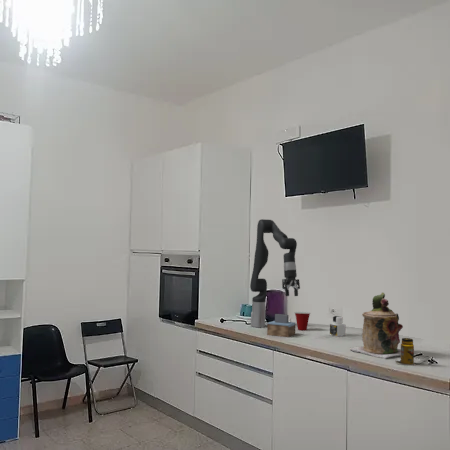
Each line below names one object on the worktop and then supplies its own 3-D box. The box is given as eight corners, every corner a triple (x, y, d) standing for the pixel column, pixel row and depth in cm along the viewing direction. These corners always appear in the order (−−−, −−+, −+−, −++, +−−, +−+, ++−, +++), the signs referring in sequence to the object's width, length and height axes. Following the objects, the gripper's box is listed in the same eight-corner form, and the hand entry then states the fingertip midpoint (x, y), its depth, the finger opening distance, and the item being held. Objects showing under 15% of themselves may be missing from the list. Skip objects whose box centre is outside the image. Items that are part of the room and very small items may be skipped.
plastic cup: (309, 328, 341) (310, 311, 342) (310, 331, 330) (311, 313, 331) (293, 328, 342) (294, 310, 343) (294, 330, 331) (294, 312, 332)
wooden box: (267, 334, 313) (267, 324, 313) (274, 332, 325) (275, 321, 325) (288, 337, 307) (288, 326, 307) (295, 334, 318) (295, 323, 318)
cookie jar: (347, 351, 269) (348, 291, 271) (375, 346, 284) (376, 290, 286) (387, 359, 250) (387, 295, 251) (414, 354, 264) (415, 293, 266)
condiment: (416, 365, 238) (416, 340, 239) (397, 364, 239) (397, 339, 240) (412, 362, 245) (412, 337, 246) (394, 361, 247) (395, 336, 247)
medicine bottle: (329, 334, 320) (329, 315, 320) (338, 334, 323) (338, 315, 323) (336, 336, 313) (337, 317, 314) (345, 335, 317) (345, 316, 317)
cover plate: (267, 325, 314) (268, 314, 314) (274, 322, 324) (274, 312, 324) (288, 327, 307) (288, 316, 308) (295, 324, 318) (295, 314, 318)
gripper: (292, 270, 316) (294, 296, 313) (278, 270, 307) (279, 296, 304) (301, 269, 311) (303, 295, 308) (287, 268, 301) (289, 295, 298)
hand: (291, 296), depth 306 cm, fingers open, 8 cm apart
